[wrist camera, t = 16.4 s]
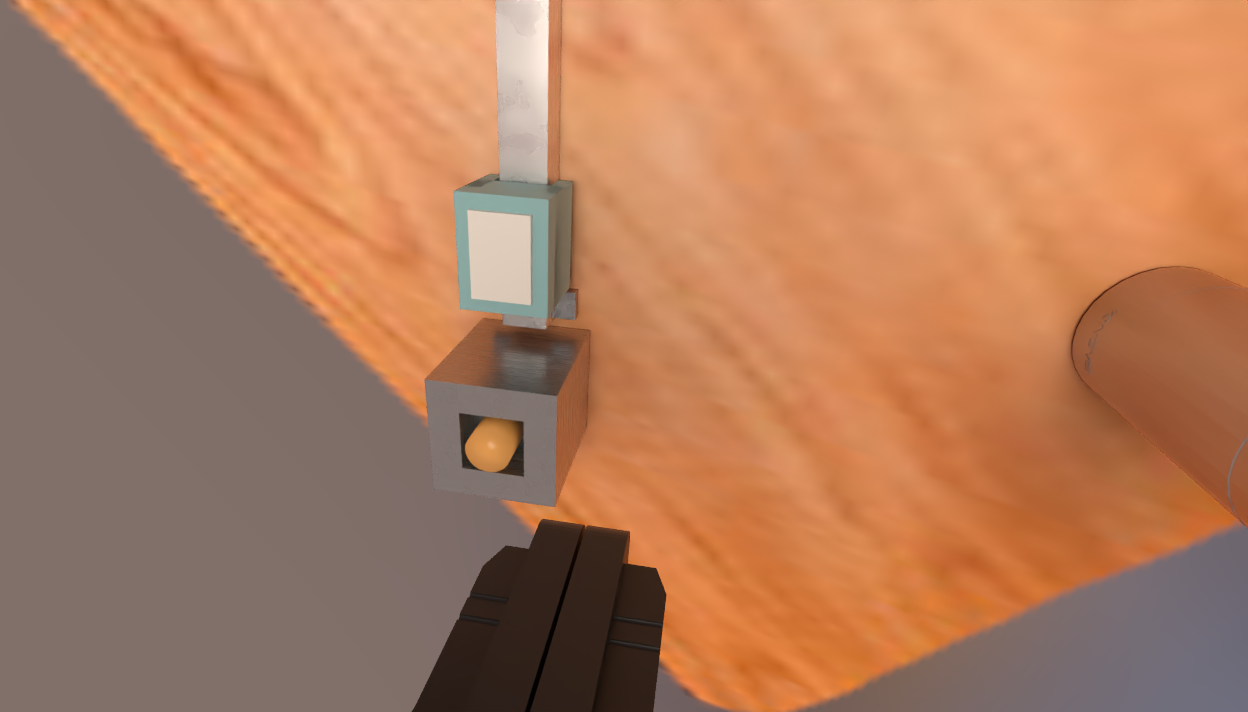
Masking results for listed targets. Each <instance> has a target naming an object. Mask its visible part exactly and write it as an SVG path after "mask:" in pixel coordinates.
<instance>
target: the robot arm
mask: <svg viewBox="0 0 1248 712" xmlns="http://www.w3.org/2000/svg"><path fill="white" fill-rule="evenodd" d="M1072 357H1073V361H1074V365H1075V368H1076V370H1077V372H1078V374H1079V375H1080V377H1081V379H1082V380H1083V381H1084V382H1085V383H1086V384H1087V385H1088V386H1089V387H1090V388H1091V389H1092V390H1093V391H1095V392H1096V393H1097V394H1098V395H1099V396H1100V397H1101V398H1102V399H1103V400H1105V401H1106V402H1107V403H1108V404H1109V405H1110V406H1111V407H1112V408H1113V409H1115V410H1116V411H1117V412H1118V413H1119V414H1120V415H1121V416H1122V417H1123V418H1124V419H1125V420H1126V421H1128V422H1129V423H1130V424H1131V425H1132V426H1133V427H1134V428H1135V429H1137V430H1138V431H1139V432H1140V433H1141V434H1142V435H1143V436H1144V437H1146V438H1147V439H1148V440H1149V441H1150V442H1151V443H1152V444H1153V445H1155V446H1156V447H1157V448H1158V449H1159V450H1160V451H1161V452H1162V453H1164V454H1165V455H1166V456H1167V457H1168V458H1169V459H1170V460H1171V461H1173V462H1174V463H1175V464H1176V465H1177V466H1178V467H1179V468H1180V469H1182V470H1183V471H1184V472H1185V473H1186V474H1187V475H1188V476H1189V477H1191V478H1192V479H1193V480H1194V481H1195V482H1196V483H1197V484H1198V485H1200V486H1201V487H1202V488H1203V489H1204V490H1205V491H1206V492H1207V493H1209V494H1210V495H1211V496H1212V497H1213V498H1214V499H1215V500H1216V501H1218V502H1219V503H1220V504H1221V505H1222V506H1223V507H1224V508H1225V509H1227V510H1228V511H1229V512H1230V513H1231V514H1232V515H1233V516H1234V517H1236V518H1237V519H1238V520H1239V521H1240V522H1241V523H1242V524H1243V525H1245V526H1246V527H1247V528H1248V289H1247V288H1244V287H1242V286H1240V285H1237V284H1235V283H1233V282H1230V281H1228V280H1226V279H1223V278H1221V277H1219V276H1216V275H1214V274H1212V273H1209V272H1206V271H1202V270H1199V269H1196V268H1187V267H1168V268H1159V269H1155V270H1151V271H1147V272H1143V273H1140V274H1138V275H1135V276H1133V277H1131V278H1128V279H1126V280H1124V281H1122V282H1120V283H1119V284H1117V285H1116V286H1114V287H1112V288H1111V289H1109V290H1108V291H1107V292H1105V293H1104V294H1103V295H1102V296H1101V297H1100V298H1099V299H1097V300H1096V301H1095V302H1094V303H1093V305H1092V306H1091V307H1090V308H1089V310H1088V311H1087V312H1086V313H1085V314H1084V316H1083V318H1082V320H1081V322H1080V323H1079V325H1078V327H1077V329H1076V333H1075V336H1074V340H1073V351H1072ZM629 543H630V531H623V530H616V529H609V528H602V527H596V526H589V525H588V526H587V527H586V529H585V525H581V524H574V523H567V522H560V521H554V520H547V519H542V520H541V522H540V523H539V525H538V528H537V530H536V533H535V535H534V538H533V540H532V543H531V545H530V548H529V549H525V548H518V547H512V546H505V547H504V548H503V549H502V550H501V551H500V552H498V553H497V554H496V555H495V556H494V557H493V558H491V560H490V561H488V562H487V563H486V564H485V565H484V566H483V567H482V569H481V572H480V574H479V576H478V578H477V580H476V582H475V584H474V586H473V588H472V590H471V593H470V597H469V598H467V600H466V603H465V604H464V607H463V609H462V611H461V613H460V617H459V620H457V621H456V623H455V625H454V627H453V630H452V631H451V633H450V635H449V638H448V640H447V642H446V644H445V646H444V648H443V650H442V652H441V654H440V656H439V658H438V660H437V662H436V665H435V667H434V669H433V671H432V673H431V675H430V677H429V679H428V681H427V683H426V685H425V687H424V689H423V691H422V693H421V695H420V698H419V699H418V702H417V704H416V706H415V707H414V709H413V711H412V712H653V708H654V699H655V690H656V682H657V673H658V664H659V655H660V646H661V638H662V628H663V620H664V611H665V602H666V592H665V590H664V587H663V585H662V582H661V579H660V577H659V574H658V571H657V569H656V568H651V567H644V566H638V565H631V564H628V555H629Z"/></svg>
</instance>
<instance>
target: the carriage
mask: <svg viewBox="0 0 1248 712" xmlns="http://www.w3.org/2000/svg"><path fill="white" fill-rule="evenodd" d="M572 184H573V181H562V180H558V181H557V182H555V183H554V184H552V185H551V186H549V185H538V184H527V183H516V182H505V181H500V178H499V175H495V174H489V175H487V176H485V177H483V178H480V179H478V180H476V181H474V182H472V183H470V184H468V185H465V186H463V187H461V188H459V189H457V190H455V191H454V207H455V226H456V244H457V262H458V281H459V299H460V309H466V310H474V311H483V312H492V313H501V314H510V315H519V316H528V317H536V318H545V319H548V317H549V316H550V314H551V313H552V312H553V310H554V309H555V307H556V306H557V304H558V303H559V302H560V300H561V299H562V297H563V296H564V294H565V293H566V292H567V290H568V289H569V287H570V264H571V224H572Z"/></svg>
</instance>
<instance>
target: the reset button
mask: <svg viewBox="0 0 1248 712" xmlns="http://www.w3.org/2000/svg"><path fill="white" fill-rule="evenodd" d="M523 436H524V422H523V421H516V420H508V419H500V418H493V417H485V416H484V417H483V419H482V420H481V421H480V423H479V424H478V426H477V427H476V429H475V430H474V432H473V433H472V435H471V436H470V437H469V439H468V440H467V442H466V445H465V452H466V455H467V458H468V459H469V461H470V462H471V463H472V464H473V465H474V466H475V467H477V468H478V469H480V470H483V471H486V472H497V471H500V470H502V469H504V468H505V467H506V466H507V465H508V463H509V461H510V460H511V458H512V456H513V454H514V452H515V450H516V449H517V447H518V445H519V443H520V441H521V439H522V438H523Z"/></svg>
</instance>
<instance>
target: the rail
mask: <svg viewBox="0 0 1248 712" xmlns="http://www.w3.org/2000/svg"><path fill="white" fill-rule="evenodd" d="M495 8H496V50H497V93H498V135H499V178H500V181H505V182H516V183H527V184H538V185H549V186H551V185H552V184H554V183H555V182H557V181H558V180H559V139H560V77H561V14H562V0H495ZM577 307H578V289H568V290H567V292H566V293H565V294H564V296H563V297H562V299H561V300H560V302H559V303H558V304H557V306H556V307H555V309H554V310H553V312H552V313H551V314H550V316H549V317H548V319H545V318H536V317H528V316H519V315H510V314H503V325H511V326H519V327H528V328H537V329H545V330H546V329H547V327H548V326H549V324H550V323H551V321H552V320H553V319H554V318H560V319H569V320H575V319H576V317H577Z"/></svg>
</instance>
